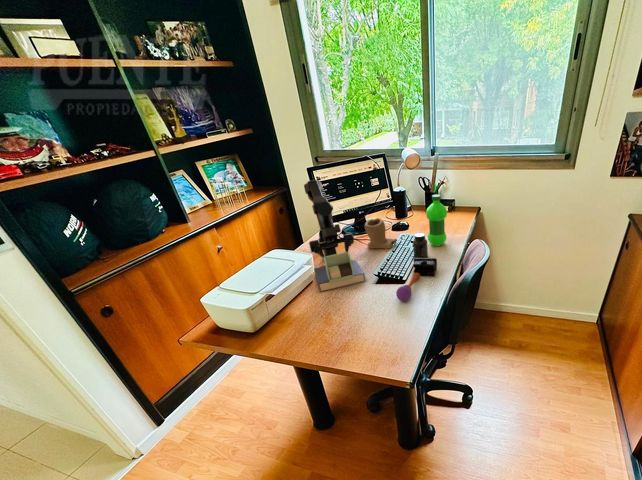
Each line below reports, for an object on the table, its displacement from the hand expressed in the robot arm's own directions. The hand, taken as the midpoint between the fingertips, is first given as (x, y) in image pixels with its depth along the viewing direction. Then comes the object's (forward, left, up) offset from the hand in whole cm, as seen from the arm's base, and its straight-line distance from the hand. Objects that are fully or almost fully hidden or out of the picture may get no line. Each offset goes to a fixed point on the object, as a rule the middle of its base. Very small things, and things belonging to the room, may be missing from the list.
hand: (337, 260), depth 138 cm
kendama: (+30, +12, -11) cm, 34 cm away
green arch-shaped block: (+1, -1, -7) cm, 7 cm away
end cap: (+26, +28, -11) cm, 39 cm away
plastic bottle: (+12, +57, -11) cm, 59 cm away
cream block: (+1, -3, -4) cm, 5 cm away
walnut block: (+3, +1, -4) cm, 5 cm away
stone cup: (-12, +39, -11) cm, 42 cm away
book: (-5, +3, -11) cm, 12 cm away
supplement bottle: (+15, +39, -11) cm, 43 cm away
